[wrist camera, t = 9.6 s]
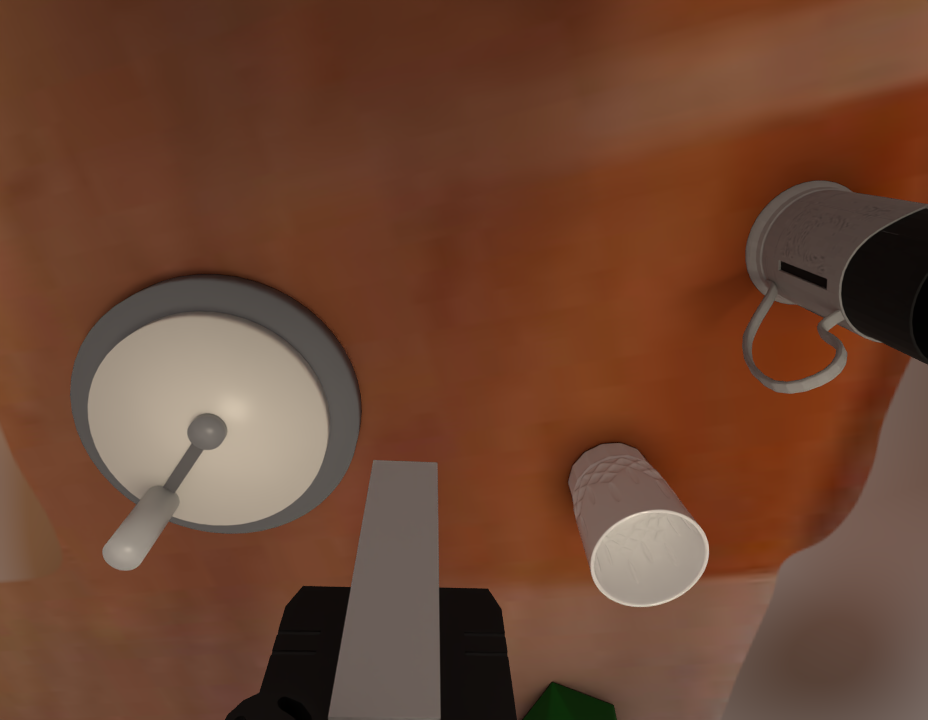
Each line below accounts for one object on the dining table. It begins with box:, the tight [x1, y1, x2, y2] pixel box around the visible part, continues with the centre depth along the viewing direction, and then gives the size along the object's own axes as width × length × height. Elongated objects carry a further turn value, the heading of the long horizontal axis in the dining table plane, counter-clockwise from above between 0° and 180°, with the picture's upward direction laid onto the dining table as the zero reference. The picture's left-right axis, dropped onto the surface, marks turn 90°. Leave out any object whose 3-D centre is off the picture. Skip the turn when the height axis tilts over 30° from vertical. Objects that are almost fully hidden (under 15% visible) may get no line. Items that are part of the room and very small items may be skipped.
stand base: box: [70, 274, 362, 534], centre depth 44 cm, size 20×20×2 cm
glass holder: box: [742, 181, 928, 394], centre depth 36 cm, size 9×14×15 cm, turn 125°
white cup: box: [568, 443, 709, 607], centre depth 44 cm, size 8×8×10 cm
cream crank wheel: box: [88, 311, 330, 570], centre depth 40 cm, size 16×16×8 cm
